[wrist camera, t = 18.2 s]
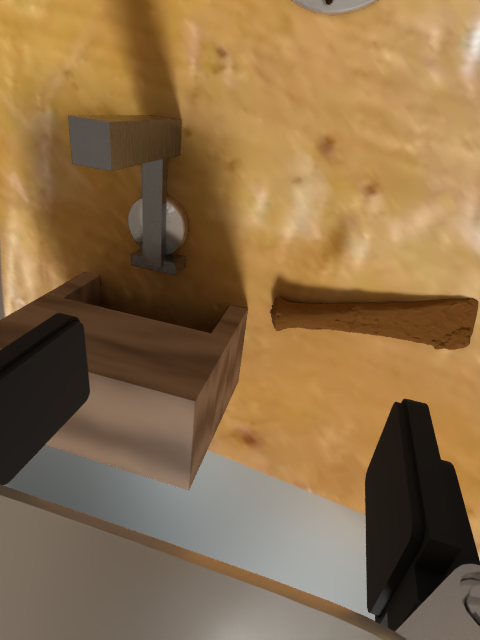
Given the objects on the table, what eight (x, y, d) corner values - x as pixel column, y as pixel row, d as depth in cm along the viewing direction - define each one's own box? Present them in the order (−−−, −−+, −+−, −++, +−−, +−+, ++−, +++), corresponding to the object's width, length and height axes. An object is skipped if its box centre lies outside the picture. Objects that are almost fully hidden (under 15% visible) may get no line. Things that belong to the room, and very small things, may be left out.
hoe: (141, 113, 36) (54, 113, 26) (192, 121, 35) (123, 123, 25) (142, 257, 43) (74, 302, 33) (184, 267, 42) (128, 316, 32)
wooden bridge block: (84, 272, 46) (-33, 338, 32) (248, 308, 42) (195, 401, 29) (90, 343, 51) (-9, 427, 37) (238, 381, 47) (188, 490, 34)
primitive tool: (478, 296, 36) (489, 313, 33) (467, 347, 39) (476, 367, 36) (273, 290, 41) (266, 304, 38) (275, 335, 44) (269, 352, 41)
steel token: (128, 197, 40) (120, 200, 39) (180, 189, 38) (173, 192, 37) (146, 252, 43) (138, 257, 42) (195, 247, 41) (188, 253, 40)
